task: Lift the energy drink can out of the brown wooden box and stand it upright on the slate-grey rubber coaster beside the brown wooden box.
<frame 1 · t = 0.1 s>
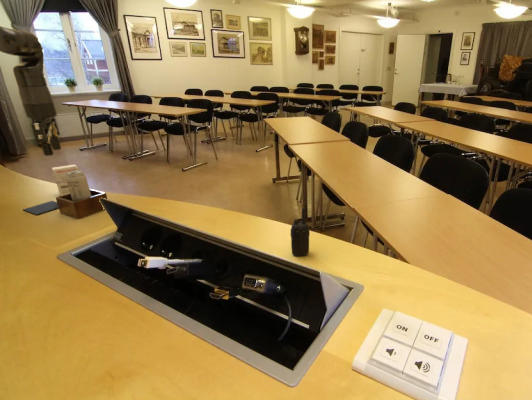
hand: (53, 152, 106), 25 cm above the table, tool pointing down, fingers open, 8 cm apart
energy drink can: (85, 210, 124), resting on brown wooden box
ink box: (72, 192, 142), on the table
brown wooden box: (85, 210, 124), on the table
coaster: (45, 208, 125), on the table
two-way radio: (300, 255, 95), on the table
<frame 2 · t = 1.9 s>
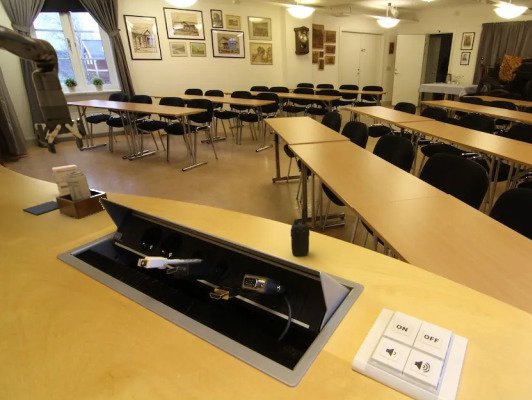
hand: (67, 150, 114), 24 cm above the table, tool pointing down, fingers open, 8 cm apart
nothing on the table moved.
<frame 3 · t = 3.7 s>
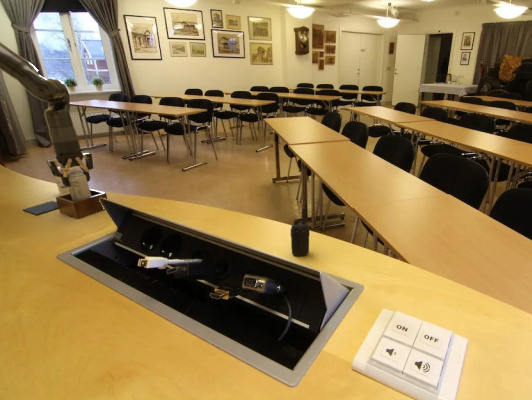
hand: (77, 183, 120), 11 cm above the table, tool pointing down, fingers closed on energy drink can, 6 cm apart
energy drink can: (85, 210, 124), resting on brown wooden box, touching gripper
everything else where it was.
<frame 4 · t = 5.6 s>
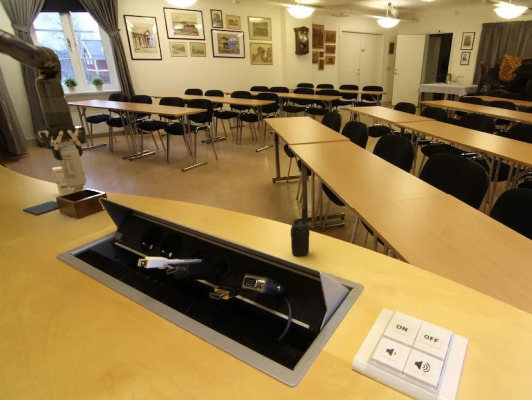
hand: (69, 157, 116), 21 cm above the table, tool pointing down, fingers closed on energy drink can, 6 cm apart
energy drink can: (77, 185, 120), point 10 cm above the table, touching gripper
everything else where it was.
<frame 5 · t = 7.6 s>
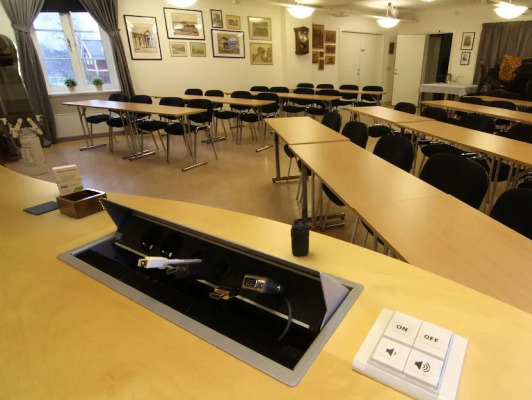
hand: (30, 146, 116), 25 cm above the table, tool pointing down, fingers closed on energy drink can, 6 cm apart
energy drink can: (39, 174, 120), point 14 cm above the table, touching gripper
everything else where it was.
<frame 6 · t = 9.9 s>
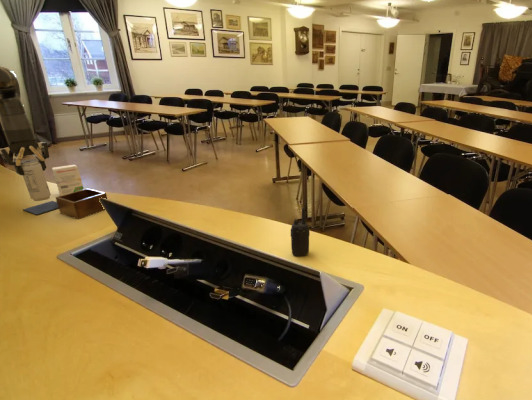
hand: (32, 172, 120), 15 cm above the table, tool pointing down, fingers closed on energy drink can, 6 cm apart
energy drink can: (41, 199, 124), point 4 cm above the table, touching gripper
everything else where it was.
when the fingers open (11 cm above the table, at t = 11.4 s): energy drink can stays where it is, resting on coaster.
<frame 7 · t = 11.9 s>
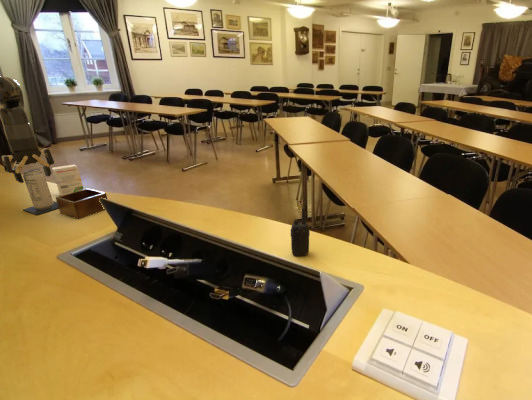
hand: (35, 179, 121), 12 cm above the table, tool pointing down, fingers open, 8 cm apart
energy drink can: (44, 207, 125), resting on coaster
everything else where it was.
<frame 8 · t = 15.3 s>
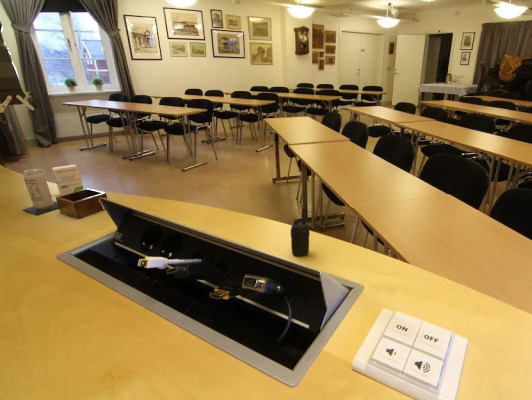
hand: (19, 121, 121), 32 cm above the table, tool pointing down, fingers open, 8 cm apart
nothing on the table moved.
at the end: energy drink can inside the target area (0.0 cm from its centre), resting on coaster; energy drink can tilted 0°; the gripper is holding nothing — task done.
